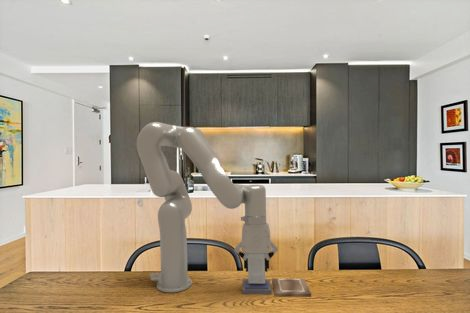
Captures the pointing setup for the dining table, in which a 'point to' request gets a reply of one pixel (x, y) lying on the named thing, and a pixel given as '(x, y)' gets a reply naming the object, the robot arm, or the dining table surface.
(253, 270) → the skincare box
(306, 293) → the marked board
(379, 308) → the dining table surface
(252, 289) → the ink pad
